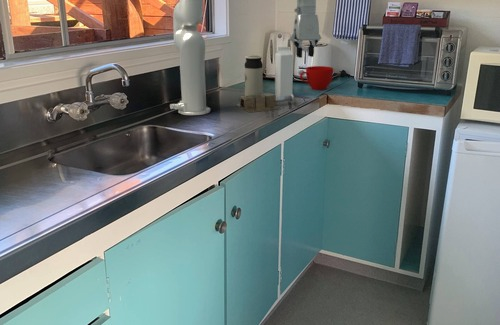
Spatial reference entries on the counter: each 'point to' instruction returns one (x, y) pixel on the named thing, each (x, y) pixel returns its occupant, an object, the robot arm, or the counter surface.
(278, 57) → the milk
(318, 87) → the ceramic cup
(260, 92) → the travel mug
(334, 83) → the counter surface
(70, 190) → the counter surface
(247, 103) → the hinge
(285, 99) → the pin
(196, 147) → the counter surface
